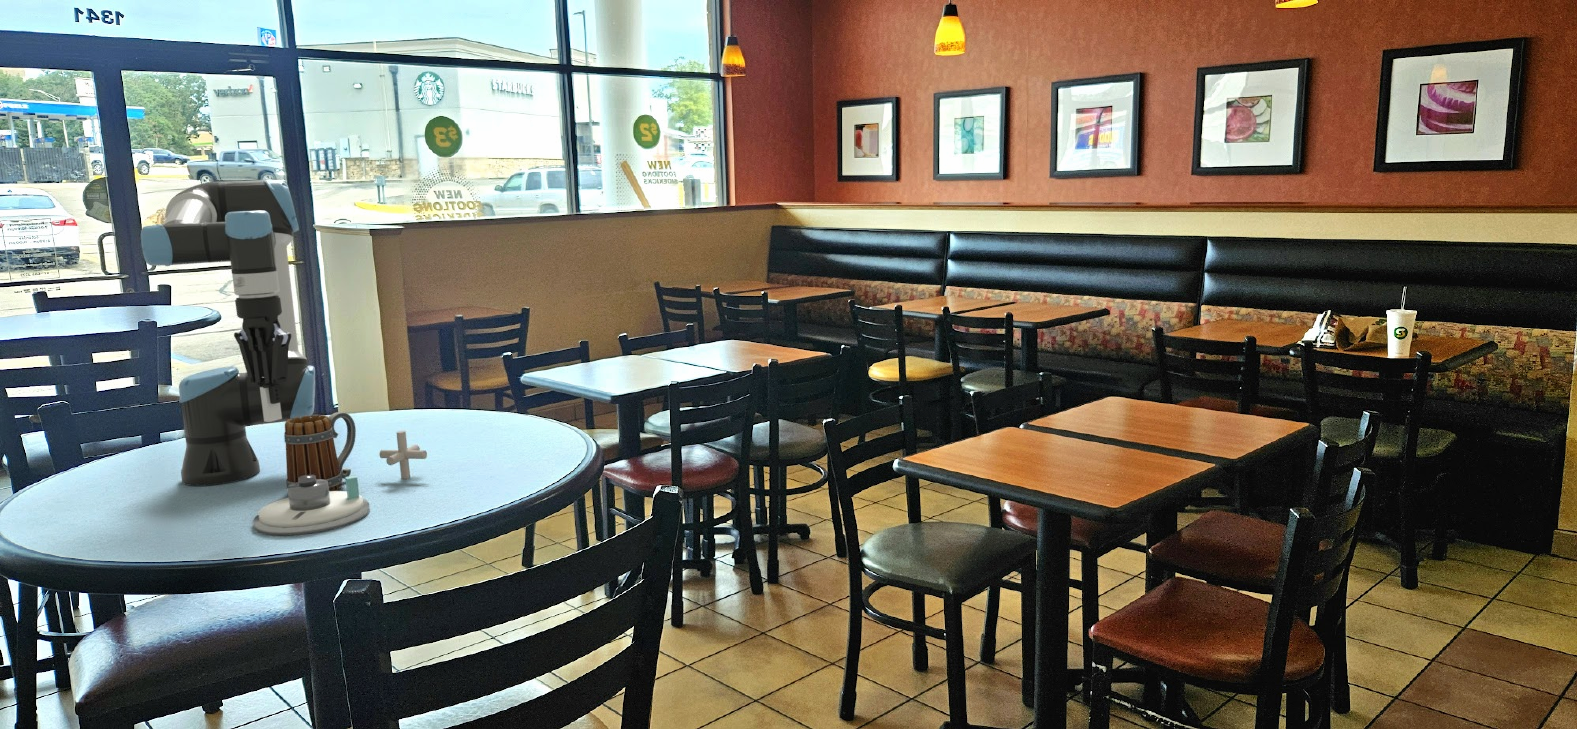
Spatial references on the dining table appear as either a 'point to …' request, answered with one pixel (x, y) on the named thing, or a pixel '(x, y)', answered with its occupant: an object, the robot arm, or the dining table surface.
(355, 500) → the turntable
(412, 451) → the pipe connector
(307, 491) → the cover
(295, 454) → the mug
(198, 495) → the dining table surface
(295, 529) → the turntable base
